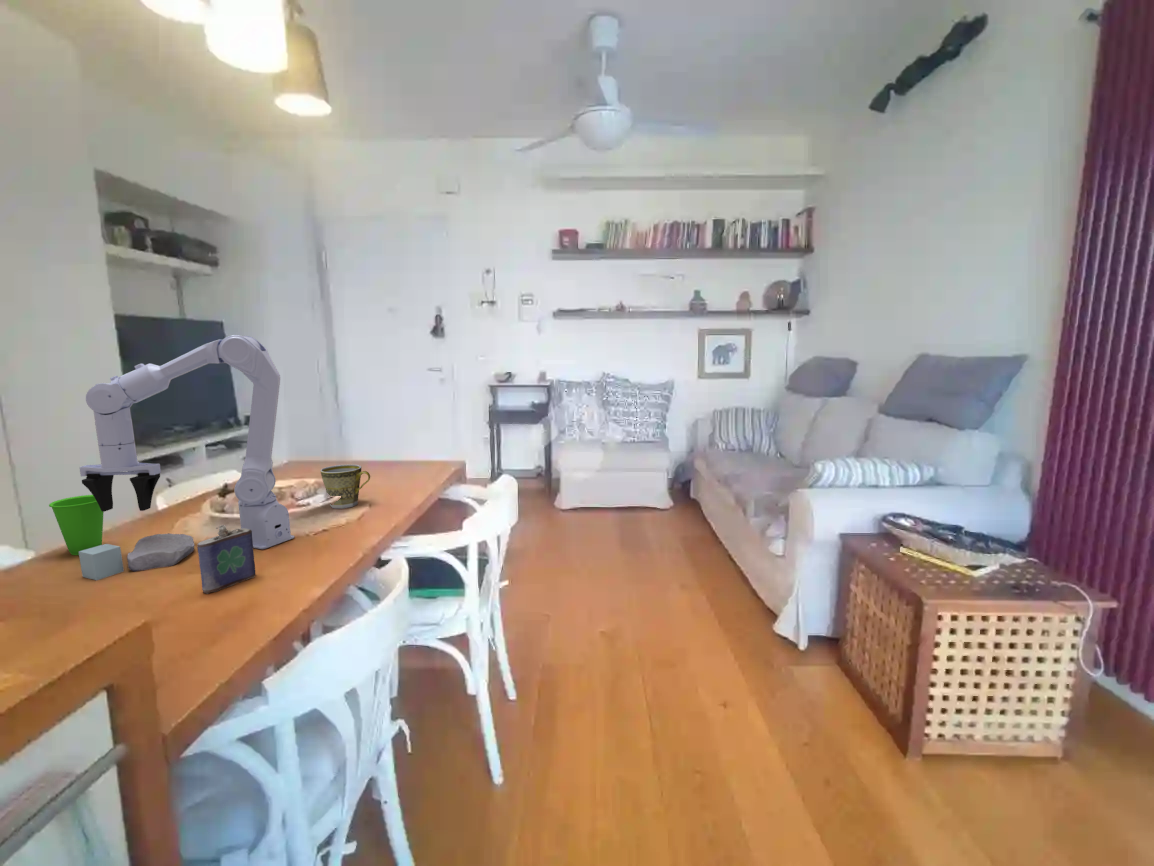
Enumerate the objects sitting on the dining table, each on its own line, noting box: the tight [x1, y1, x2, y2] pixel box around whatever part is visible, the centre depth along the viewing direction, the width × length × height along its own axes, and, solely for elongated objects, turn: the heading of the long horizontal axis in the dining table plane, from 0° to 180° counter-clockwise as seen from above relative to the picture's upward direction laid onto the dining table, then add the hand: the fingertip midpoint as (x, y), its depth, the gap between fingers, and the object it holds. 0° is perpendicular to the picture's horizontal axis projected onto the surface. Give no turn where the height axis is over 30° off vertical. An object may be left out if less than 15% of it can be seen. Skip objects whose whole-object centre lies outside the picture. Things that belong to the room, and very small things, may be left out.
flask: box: [196, 524, 257, 595], centre depth 102 cm, size 9×3×11 cm, turn 151°
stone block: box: [126, 533, 195, 573], centre depth 116 cm, size 12×5×10 cm
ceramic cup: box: [320, 463, 371, 510], centre depth 152 cm, size 13×10×10 cm
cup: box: [48, 494, 104, 556], centre depth 120 cm, size 9×9×11 cm
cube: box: [78, 543, 125, 581], centre depth 108 cm, size 4×4×5 cm
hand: (126, 509), depth 117 cm, fingers open, 7 cm apart
